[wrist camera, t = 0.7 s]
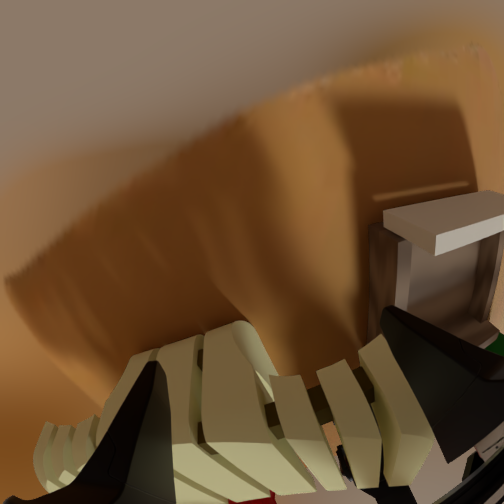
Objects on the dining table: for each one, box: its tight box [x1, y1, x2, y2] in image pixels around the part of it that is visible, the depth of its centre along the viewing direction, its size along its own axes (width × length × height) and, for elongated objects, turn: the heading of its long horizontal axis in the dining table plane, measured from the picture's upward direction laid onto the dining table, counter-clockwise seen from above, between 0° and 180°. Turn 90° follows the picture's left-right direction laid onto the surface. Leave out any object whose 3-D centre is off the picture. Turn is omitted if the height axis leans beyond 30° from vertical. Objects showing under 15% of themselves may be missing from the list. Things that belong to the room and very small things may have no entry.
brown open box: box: [367, 222, 504, 349], centre depth 23 cm, size 17×18×8 cm
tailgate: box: [383, 190, 504, 256], centre depth 18 cm, size 2×17×7 cm, turn 101°
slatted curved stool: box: [33, 320, 435, 504], centre depth 20 cm, size 30×16×18 cm, turn 111°
